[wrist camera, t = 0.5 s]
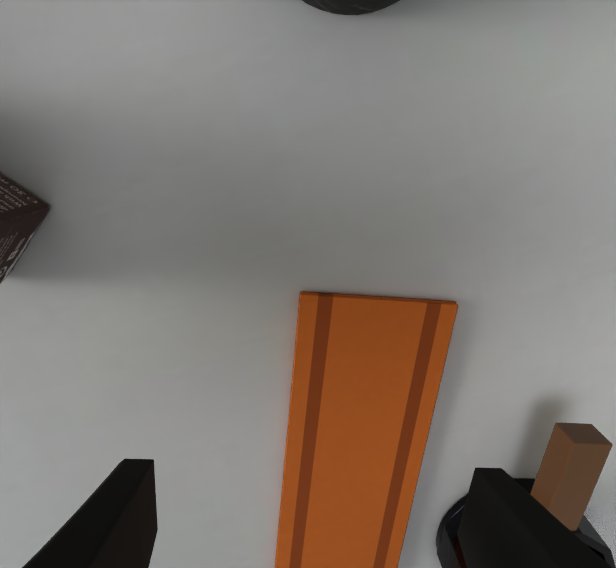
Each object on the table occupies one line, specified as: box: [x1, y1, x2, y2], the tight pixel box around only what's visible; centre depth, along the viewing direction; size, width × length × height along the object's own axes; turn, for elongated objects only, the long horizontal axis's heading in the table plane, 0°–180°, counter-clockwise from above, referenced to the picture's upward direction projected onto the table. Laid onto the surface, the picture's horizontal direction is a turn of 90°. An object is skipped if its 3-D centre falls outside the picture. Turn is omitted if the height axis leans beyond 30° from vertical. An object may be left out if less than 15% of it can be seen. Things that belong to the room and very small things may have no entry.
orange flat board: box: [275, 292, 458, 568], centre depth 22 cm, size 20×7×1 cm, turn 175°
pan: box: [436, 423, 616, 568], centre depth 22 cm, size 13×8×3 cm, turn 175°
